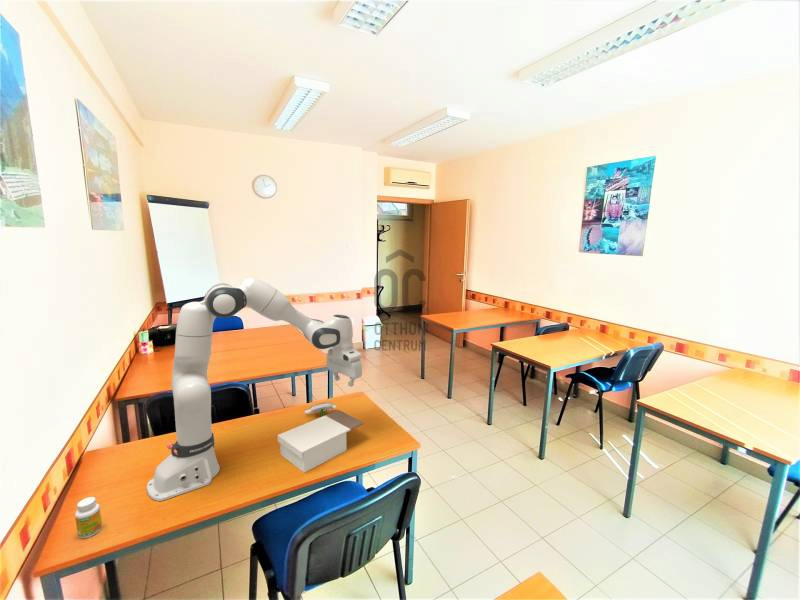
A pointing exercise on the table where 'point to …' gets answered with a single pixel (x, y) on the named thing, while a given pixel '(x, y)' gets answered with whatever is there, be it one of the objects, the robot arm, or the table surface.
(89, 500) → the supplement bottle
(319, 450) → the box
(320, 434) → the lid
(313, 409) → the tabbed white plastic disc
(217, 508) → the table surface
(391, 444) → the table surface
